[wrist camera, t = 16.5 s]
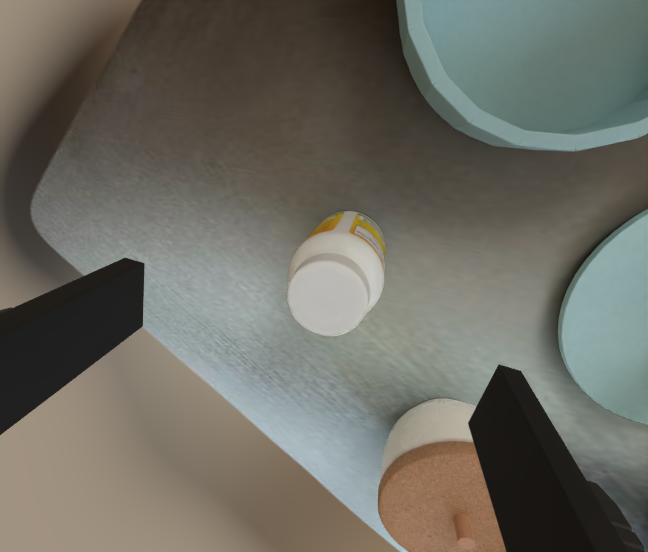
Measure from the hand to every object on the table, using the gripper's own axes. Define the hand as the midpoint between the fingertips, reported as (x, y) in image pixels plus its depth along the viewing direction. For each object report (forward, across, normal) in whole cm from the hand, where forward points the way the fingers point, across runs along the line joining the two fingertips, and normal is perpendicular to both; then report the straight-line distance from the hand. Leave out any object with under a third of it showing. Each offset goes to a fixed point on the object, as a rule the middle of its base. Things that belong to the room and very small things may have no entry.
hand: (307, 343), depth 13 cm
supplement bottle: (+14, 0, 0) cm, 14 cm away
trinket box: (+14, +12, -14) cm, 23 cm away
